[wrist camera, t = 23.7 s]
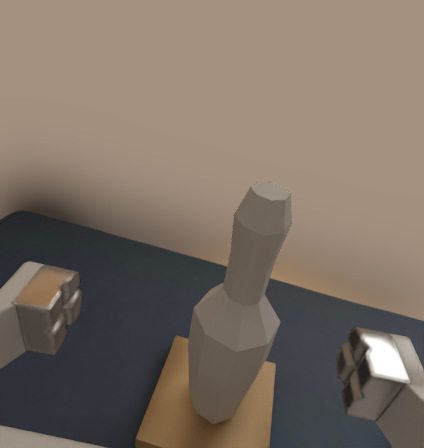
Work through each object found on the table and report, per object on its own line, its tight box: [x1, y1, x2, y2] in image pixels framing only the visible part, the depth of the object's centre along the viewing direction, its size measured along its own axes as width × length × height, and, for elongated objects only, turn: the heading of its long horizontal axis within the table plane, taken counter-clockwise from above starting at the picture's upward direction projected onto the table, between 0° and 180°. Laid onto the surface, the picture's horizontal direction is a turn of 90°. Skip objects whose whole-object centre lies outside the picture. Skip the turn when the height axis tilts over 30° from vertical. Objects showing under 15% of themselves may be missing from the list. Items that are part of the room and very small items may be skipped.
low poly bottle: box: [188, 182, 292, 424], centre depth 27 cm, size 6×6×22 cm
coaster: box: [135, 336, 276, 448], centre depth 33 cm, size 11×11×2 cm
